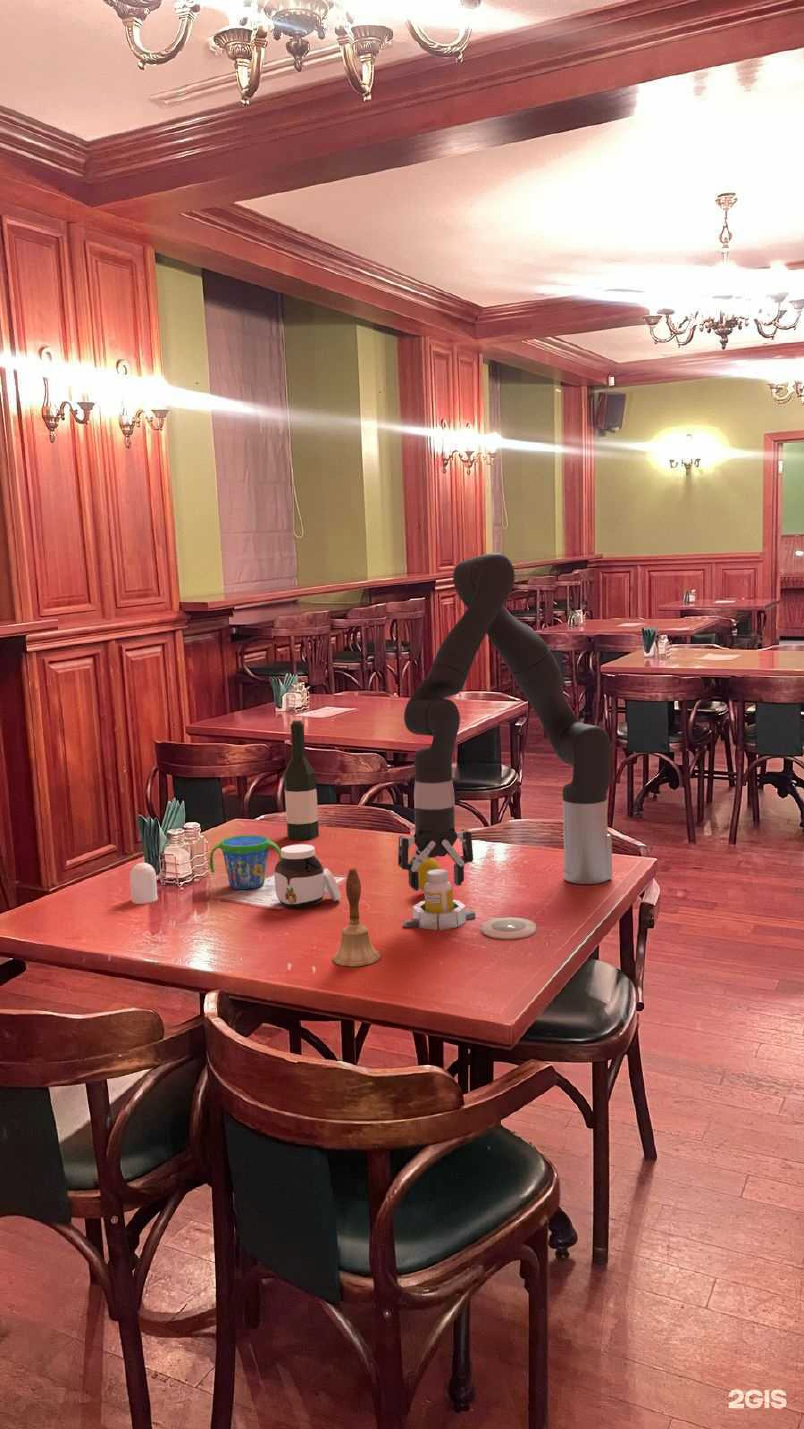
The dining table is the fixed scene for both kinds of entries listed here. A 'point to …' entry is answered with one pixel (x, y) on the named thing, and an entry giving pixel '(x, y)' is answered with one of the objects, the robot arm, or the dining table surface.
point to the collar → (439, 917)
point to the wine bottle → (300, 790)
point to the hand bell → (355, 931)
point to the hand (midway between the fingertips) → (436, 887)
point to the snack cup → (245, 859)
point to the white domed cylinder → (143, 884)
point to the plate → (508, 928)
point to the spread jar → (302, 878)
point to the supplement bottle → (438, 892)
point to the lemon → (426, 870)
